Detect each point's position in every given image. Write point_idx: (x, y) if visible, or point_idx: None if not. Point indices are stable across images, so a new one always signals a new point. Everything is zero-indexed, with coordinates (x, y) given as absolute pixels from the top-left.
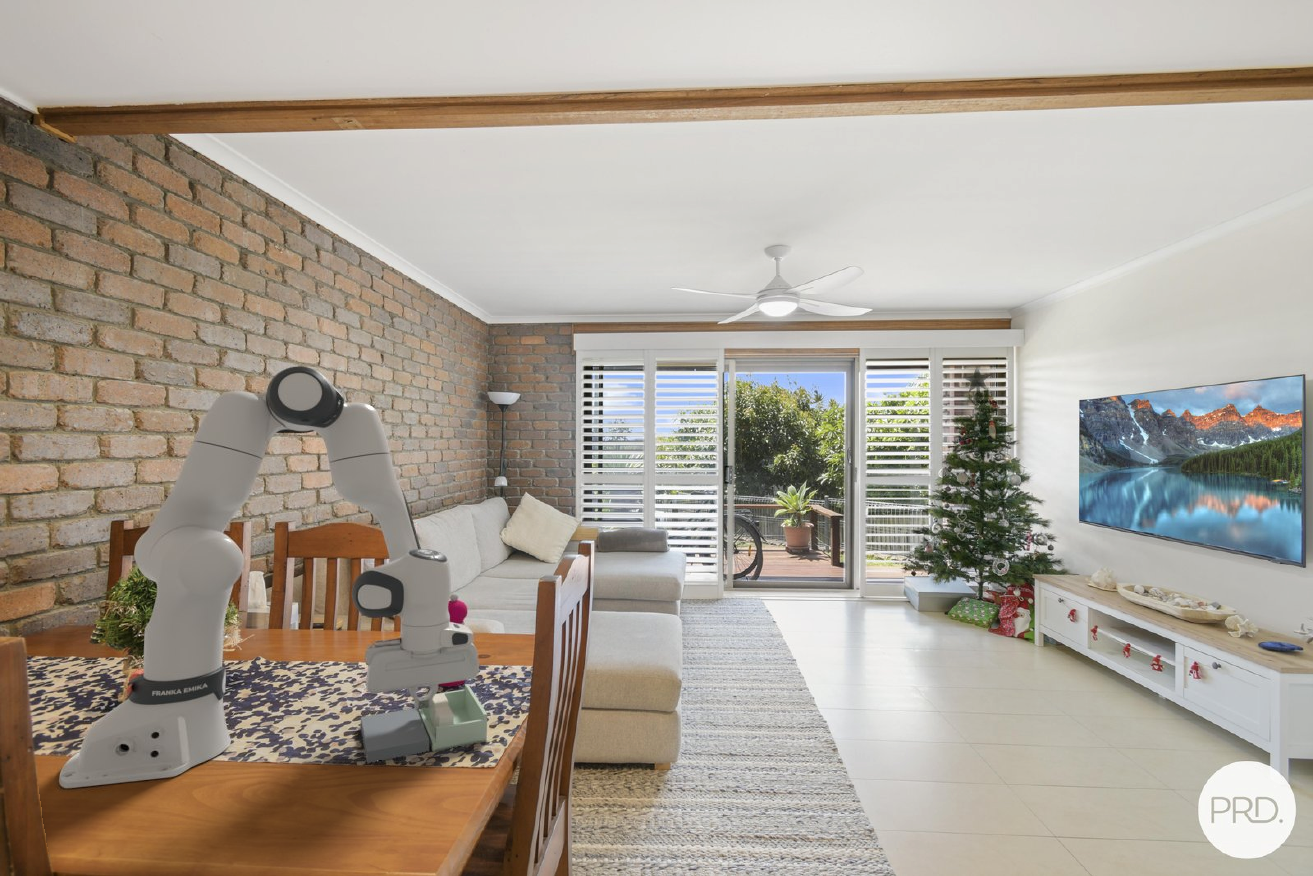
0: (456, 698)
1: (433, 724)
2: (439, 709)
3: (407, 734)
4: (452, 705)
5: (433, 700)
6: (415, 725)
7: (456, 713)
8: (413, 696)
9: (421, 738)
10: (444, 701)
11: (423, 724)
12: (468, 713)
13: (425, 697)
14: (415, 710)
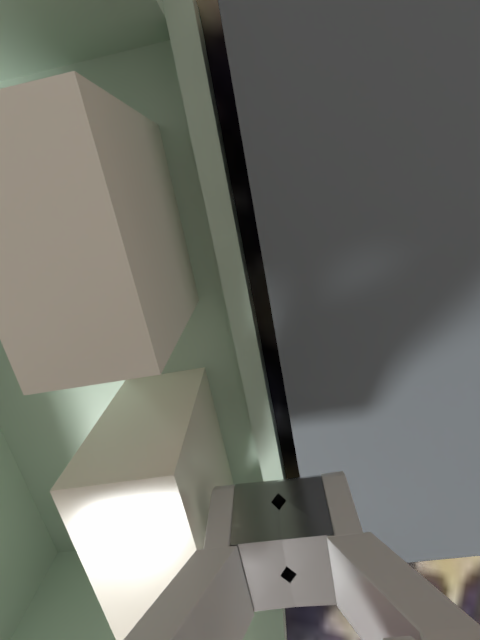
0: (73, 612)
1: (209, 394)
2: (110, 331)
3: (401, 168)
4: None
5: (192, 544)
6: (330, 326)
7: None
8: (415, 586)
9: (287, 39)
10: (87, 503)
11: (270, 400)
12: (23, 487)
13: (266, 591)
14: None
